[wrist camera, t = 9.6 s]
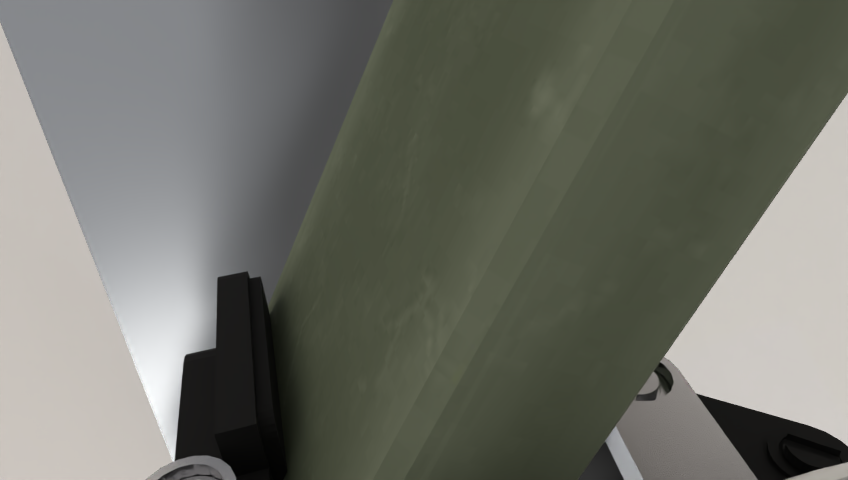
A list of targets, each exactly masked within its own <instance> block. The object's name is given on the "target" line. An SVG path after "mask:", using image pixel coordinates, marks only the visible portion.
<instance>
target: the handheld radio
mask: <svg viewBox="0 0 848 480" xmlns="http://www.w3.org/2000/svg"><path fill="white" fill-rule="evenodd" d="M847 93H848V0H393V2H392V5H391V7H390V10H389V12H388V14H387V17H386V19H385V22H384V24H383V27H382V29H381V32H380V34H379V36H378V39H377V41H376V44H375V46H374V49H373V51H372V53H371V56H370V58H369V61H368V63H367V66H366V68H365V71H364V73H363V75H362V78H361V80H360V83H359V85H358V88H357V90H356V93H355V95H354V97H353V100H352V102H351V105H350V107H349V110H348V112H347V115H346V117H345V119H344V122H343V124H342V127H341V129H340V132H339V134H338V137H337V139H336V141H335V144H334V146H333V149H332V151H331V154H330V156H329V158H328V161H327V163H326V166H325V168H324V171H323V173H322V176H321V178H320V180H319V183H318V185H317V188H316V190H315V193H314V195H313V198H312V200H311V202H310V205H309V207H308V210H307V212H306V215H305V217H304V220H303V222H302V224H301V227H300V229H299V232H298V234H297V237H296V239H295V242H294V244H293V246H292V249H291V251H290V254H289V256H288V259H287V261H286V263H285V266H284V268H283V271H282V273H281V276H280V278H279V281H278V283H277V285H276V288H275V290H274V293H273V295H272V298H271V300H270V303H269V305H268V309H269V313H270V320H271V329H272V338H273V347H274V356H275V365H276V374H277V383H278V392H279V401H280V410H281V419H282V428H283V437H284V446H285V455H286V464H287V473H286V475H285V477H284V479H283V480H578V479H579V478H580V476H581V475H582V473H583V472H584V470H585V469H586V468H587V466H588V465H589V463H590V462H591V460H592V459H593V458H594V456H595V455H596V453H597V452H598V450H599V449H600V448H601V446H602V445H603V443H604V442H605V440H606V439H607V437H608V436H609V435H610V433H611V432H612V430H613V429H614V427H615V426H616V425H617V423H618V422H619V420H620V419H621V417H622V416H623V415H624V413H625V412H626V410H627V409H628V407H629V406H630V404H631V403H632V402H633V400H634V399H635V397H636V396H637V394H638V393H639V392H640V390H641V389H642V387H643V386H644V384H645V383H646V382H647V380H648V379H649V377H650V376H651V374H652V373H653V371H654V370H655V369H656V367H657V366H658V364H659V363H660V361H661V360H662V359H663V357H664V356H665V354H666V353H667V351H668V350H669V349H670V347H671V346H672V344H673V343H674V341H675V340H676V338H677V337H678V336H679V334H680V333H681V331H682V330H683V328H684V327H685V326H686V324H687V323H688V321H689V320H690V318H691V317H692V316H693V314H694V313H695V311H696V310H697V308H698V307H699V305H700V304H701V303H702V301H703V300H704V298H705V297H706V295H707V294H708V293H709V291H710V290H711V288H712V287H713V285H714V284H715V283H716V281H717V280H718V278H719V277H720V275H721V274H722V273H723V271H724V270H725V268H726V267H727V265H728V264H729V262H730V261H731V260H732V258H733V257H734V255H735V254H736V252H737V251H738V250H739V248H740V247H741V245H742V244H743V242H744V241H745V240H746V238H747V237H748V235H749V234H750V232H751V231H752V229H753V228H754V227H755V225H756V224H757V222H758V221H759V219H760V218H761V217H762V215H763V214H764V212H765V211H766V209H767V208H768V207H769V205H770V204H771V202H772V201H773V199H774V198H775V196H776V195H777V194H778V192H779V191H780V189H781V188H782V186H783V185H784V184H785V182H786V181H787V179H788V178H789V176H790V175H791V174H792V172H793V171H794V169H795V168H796V166H797V165H798V163H799V162H800V161H801V159H802V158H803V156H804V155H805V153H806V152H807V151H808V149H809V148H810V146H811V145H812V143H813V142H814V141H815V139H816V138H817V136H818V135H819V133H820V132H821V131H822V129H823V128H824V126H825V125H826V123H827V122H828V120H829V119H830V118H831V116H832V115H833V113H834V112H835V110H836V109H837V108H838V106H839V105H840V103H841V102H842V100H843V99H844V98H845V96H846V95H847Z"/></svg>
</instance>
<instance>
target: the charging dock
mask: <svg viewBox="0 0 848 480" xmlns="http://www.w3.org/2000/svg"><path fill="white" fill-rule="evenodd" d="M392 2H393V0H0V23H1V25H2V28H3V30H4V33H5V35H6V38H7V40H8V43H9V46H10V48H11V51H12V53H13V56H14V58H15V61H16V63H17V66H18V69H19V71H20V74H21V76H22V79H23V81H24V84H25V86H26V89H27V91H28V94H29V97H30V99H31V102H32V104H33V107H34V109H35V112H36V114H37V117H38V119H39V122H40V125H41V127H42V130H43V132H44V135H45V137H46V140H47V142H48V145H49V148H50V150H51V153H52V155H53V158H54V160H55V163H56V165H57V168H58V170H59V173H60V176H61V178H62V181H63V183H64V186H65V188H66V191H67V193H68V196H69V199H70V201H71V204H72V206H73V209H74V211H75V214H76V216H77V219H78V221H79V224H80V227H81V229H82V232H83V234H84V237H85V239H86V242H87V244H88V247H89V250H90V252H91V255H92V257H93V260H94V262H95V265H96V267H97V270H98V272H99V275H100V278H101V280H102V283H103V285H104V288H105V290H106V293H107V295H108V298H109V301H110V303H111V306H112V308H113V311H114V313H115V316H116V318H117V321H118V323H119V326H120V329H121V331H122V334H123V336H124V339H125V341H126V344H127V346H128V349H129V351H130V354H131V357H132V359H133V362H134V364H135V367H136V369H137V372H138V374H139V377H140V380H141V382H142V385H143V387H144V390H145V392H146V395H147V397H148V400H149V402H150V405H151V408H152V410H153V413H154V415H155V418H156V420H157V423H158V425H159V428H160V431H161V433H162V436H163V438H164V441H165V443H166V446H167V448H168V451H169V453H170V456H171V459H172V461H173V462H174V461H175V450H176V439H177V428H178V417H179V406H180V395H181V384H182V373H183V362H184V357H185V356H186V354H190V353H195V352H199V351H204V350H208V349H213V348H216V319H217V278H218V277H221V276H226V275H231V274H236V273H241V272H246V271H248V273H249V276H250V278H254V277H259V276H260V277H261V279H262V283H263V287H264V292H265V296H266V300H267V304H268V305H269V303H270V300H271V298H272V295H273V293H274V290H275V288H276V285H277V283H278V281H279V278H280V276H281V273H282V271H283V268H284V266H285V263H286V261H287V259H288V256H289V254H290V251H291V249H292V246H293V244H294V242H295V239H296V237H297V234H298V232H299V229H300V227H301V224H302V222H303V220H304V217H305V215H306V212H307V210H308V207H309V205H310V202H311V200H312V198H313V195H314V193H315V190H316V188H317V185H318V183H319V180H320V178H321V176H322V173H323V171H324V168H325V166H326V163H327V161H328V158H329V156H330V154H331V151H332V149H333V146H334V144H335V141H336V139H337V137H338V134H339V132H340V129H341V127H342V124H343V122H344V119H345V117H346V115H347V112H348V110H349V107H350V105H351V102H352V100H353V97H354V95H355V93H356V90H357V88H358V85H359V83H360V80H361V78H362V75H363V73H364V71H365V68H366V66H367V63H368V61H369V58H370V56H371V53H372V51H373V49H374V46H375V44H376V41H377V39H378V36H379V34H380V32H381V29H382V27H383V24H384V22H385V19H386V17H387V14H388V12H389V10H390V7H391V5H392Z"/></svg>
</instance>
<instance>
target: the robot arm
mask: <svg viewBox="0 0 848 480" xmlns="http://www.w3.org/2000/svg"><path fill="white" fill-rule="evenodd" d="M286 473H287V464H286V455H285V446H284V437H283V428H282V419H281V410H280V401H279V392H278V383H277V374H276V365H275V356H274V347H273V338H272V329H271V320H270V313H269V309H268V304H267V300H266V296H265V292H264V287H263V283H262V279H261V277H260V276H259V277H254V278H250V276H249V273H248V271H246V272H241V273H236V274H231V275H226V276H221V277H218V278H217V319H216V348H213V349H208V350H204V351H199V352H195V353H190V354H186V356H185V357H184V362H183V373H182V384H181V395H180V406H179V417H178V428H177V439H176V450H175V461H174V462H172V463H170V464H168V465H166V466H164V467H162V468H160V469H159V470H157V471H156V472H155V473H154V474H152V475H151V476H150V477H148V478H147V479H146V480H283V479H284V477H285V475H286ZM578 480H848V446H846V445H845V444H844V443H843V442H842V441H840V440H838V439H837V438H835V437H833V436H832V435H830V434H828V433H826V432H824V431H822V430H819V429H816V428H814V427H811V426H808V425H805V424H801V423H798V422H794V421H790V420H787V419H783V418H780V417H776V416H773V415H769V414H766V413H762V412H759V411H755V410H752V409H748V408H745V407H741V406H738V405H734V404H731V403H727V402H724V401H720V400H717V399H713V398H710V397H706V396H703V395H699V394H696V393H695V392H694V390H693V389H692V387H691V386H690V385H689V383H688V382H687V380H686V379H685V378H684V376H683V375H682V374H681V372H680V371H679V369H678V368H677V367H676V366H675V365H674V364H673V363H672V362H671V361H670V360H668V359H666V358H665V357H663V359H662V360H661V361H660V363H659V364H658V366H657V367H656V369H655V370H654V371H653V373H652V374H651V376H650V377H649V379H648V380H647V382H646V383H645V384H644V386H643V387H642V389H641V390H640V392H639V393H638V394H637V396H636V397H635V399H634V400H633V402H632V403H631V404H630V406H629V407H628V409H627V410H626V412H625V413H624V415H623V416H622V417H621V419H620V420H619V422H618V423H617V425H616V426H615V427H614V429H613V430H612V432H611V433H610V435H609V436H608V437H607V439H606V440H605V442H604V443H603V445H602V446H601V448H600V449H599V450H598V452H597V453H596V455H595V456H594V458H593V459H592V460H591V462H590V463H589V465H588V466H587V468H586V469H585V470H584V472H583V473H582V475H581V476H580V478H579V479H578Z"/></svg>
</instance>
